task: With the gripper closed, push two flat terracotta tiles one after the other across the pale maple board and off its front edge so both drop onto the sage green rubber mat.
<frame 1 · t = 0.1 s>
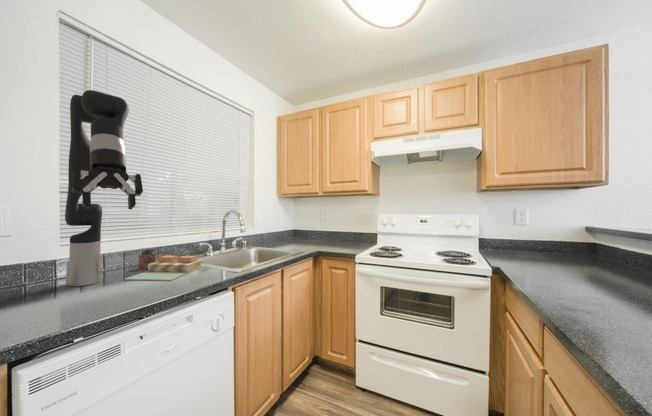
hand: (110, 208, 65), 31 cm above the worktop, tool tilted 20°, fingers open, 8 cm apart
tile b: (187, 259, 129), point 5 cm above the worktop, touching deck
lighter: (147, 268, 130), on the worktop
tile a: (168, 258, 130), point 5 cm above the worktop, touching deck
deck: (175, 269, 127), on the worktop
mat: (157, 276, 114), on the worktop
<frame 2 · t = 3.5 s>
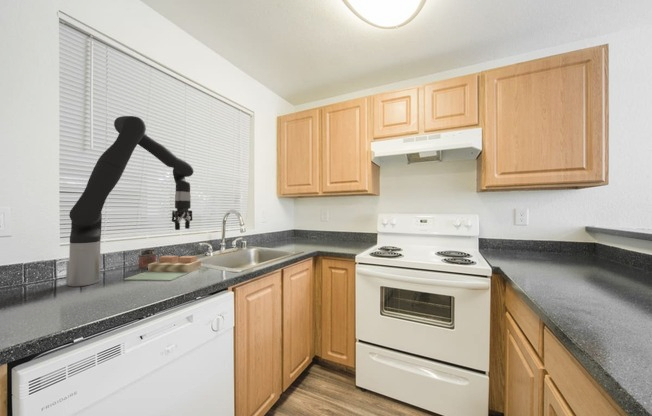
hand: (182, 229, 137), 20 cm above the worktop, tool pointing down, fingers open, 8 cm apart
nothing on the worktop moved.
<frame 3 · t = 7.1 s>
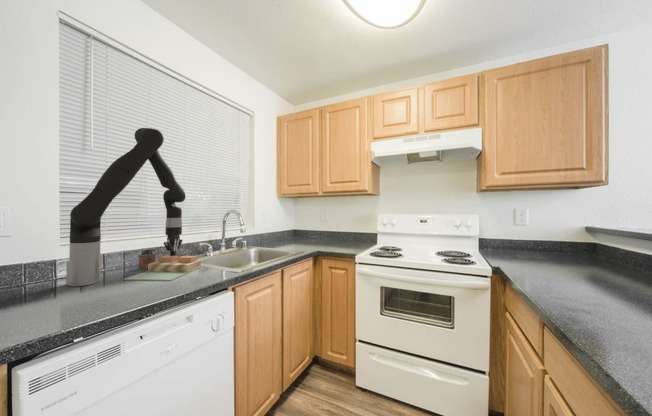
hand: (173, 258, 134), 5 cm above the worktop, tool pointing down, fingers closed
tile a: (168, 258, 129), point 5 cm above the worktop, touching deck, gripper
everything else where it was.
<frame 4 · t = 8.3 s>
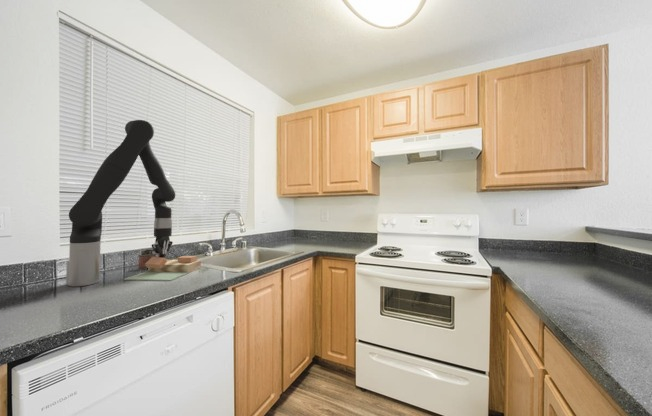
hand: (162, 261, 125), 5 cm above the worktop, tool pointing down, fingers closed
tile a: (156, 262, 121), point 5 cm above the worktop, tilted 29°, touching deck
everything else where it was.
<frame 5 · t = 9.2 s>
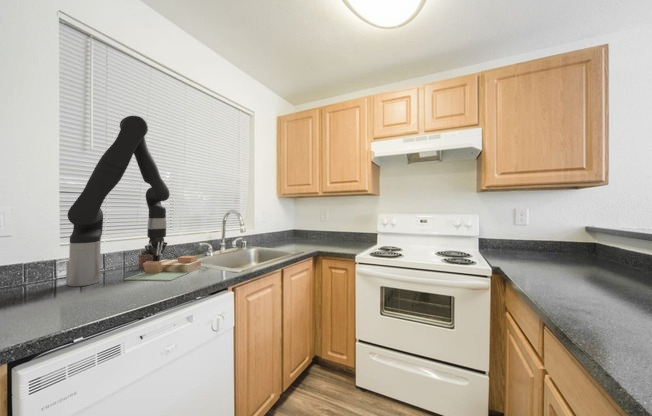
hand: (156, 262, 120), 5 cm above the worktop, tool pointing down, fingers closed
tile a: (152, 267, 119), point 3 cm above the worktop, tilted 113°, touching gripper, mat
everything else where it was.
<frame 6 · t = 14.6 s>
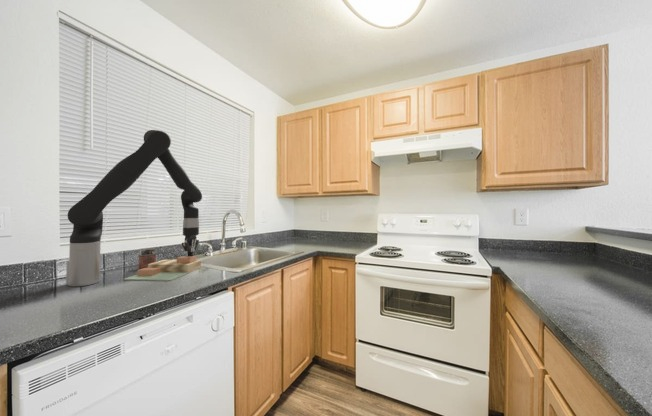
hand: (190, 258, 132), 5 cm above the worktop, tool pointing down, fingers closed
tile b: (186, 259, 128), point 5 cm above the worktop, touching gripper
tile a: (148, 271, 116), point 2 cm above the worktop, tilted 180°, touching mat
everything else where it was.
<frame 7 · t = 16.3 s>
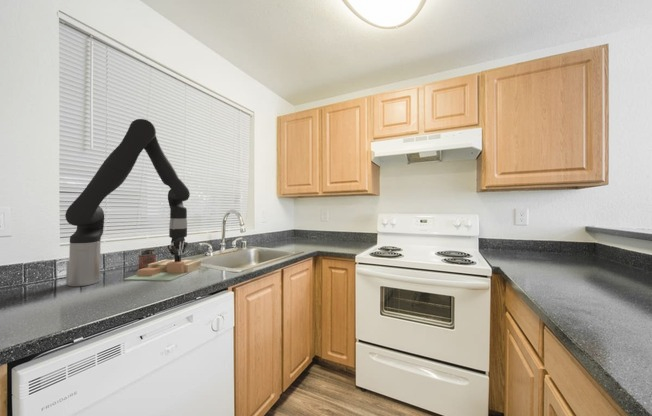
hand: (177, 262, 121), 5 cm above the worktop, tool pointing down, fingers closed
tile b: (176, 267, 119), point 3 cm above the worktop, tilted 102°, touching mat
everything else where it was.
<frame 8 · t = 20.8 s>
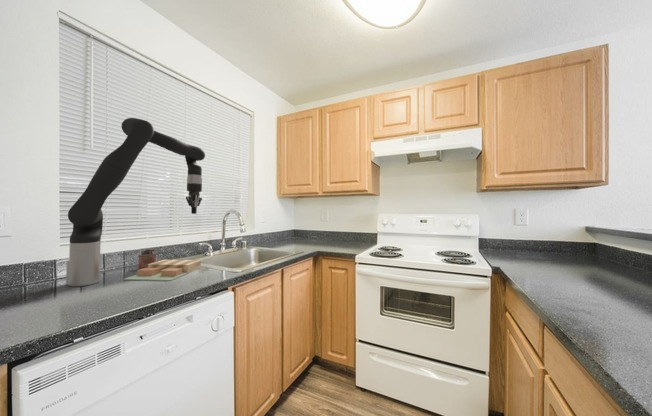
hand: (193, 213, 140), 29 cm above the worktop, tool pointing down, fingers closed
tile b: (171, 272, 116), point 2 cm above the worktop, tilted 180°, touching mat
everything else where it was.
at the end: tile a inside the target area (5.9 cm from its centre), point 1.7 cm above the worktop; tile b inside the target area (5.8 cm from its centre), point 1.7 cm above the worktop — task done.
